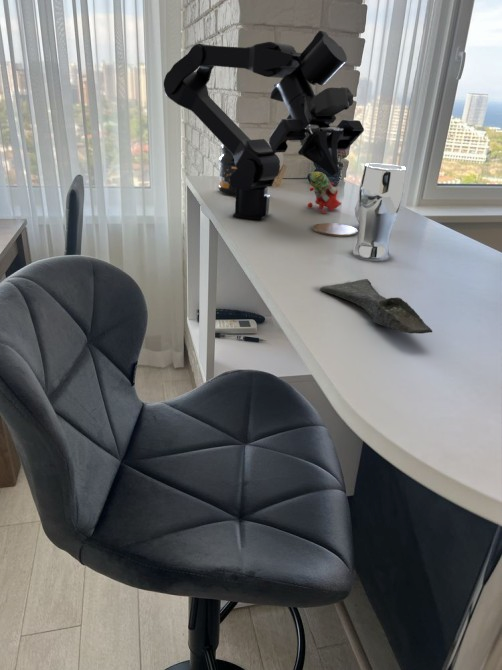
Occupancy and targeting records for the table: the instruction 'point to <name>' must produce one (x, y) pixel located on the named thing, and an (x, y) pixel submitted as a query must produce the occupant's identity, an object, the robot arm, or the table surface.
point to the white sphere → (357, 211)
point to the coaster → (335, 229)
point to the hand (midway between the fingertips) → (335, 174)
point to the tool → (380, 306)
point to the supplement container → (226, 172)
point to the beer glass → (378, 209)
